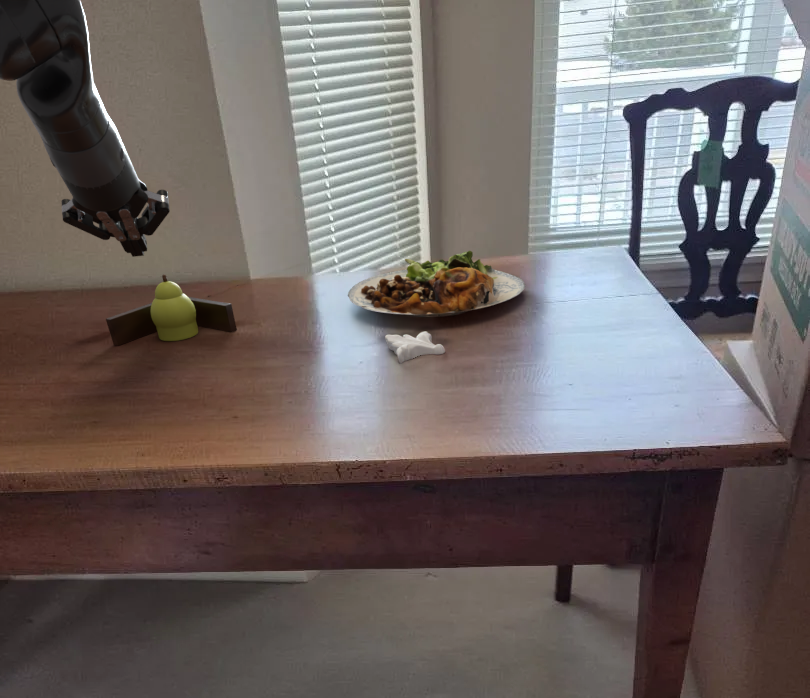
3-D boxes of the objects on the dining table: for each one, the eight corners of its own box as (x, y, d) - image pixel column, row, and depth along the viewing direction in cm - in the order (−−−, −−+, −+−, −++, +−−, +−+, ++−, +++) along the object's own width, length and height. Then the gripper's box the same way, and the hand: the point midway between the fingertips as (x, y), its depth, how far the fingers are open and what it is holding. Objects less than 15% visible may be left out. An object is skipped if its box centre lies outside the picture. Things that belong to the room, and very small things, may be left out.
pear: (178, 343, 109) (162, 282, 104) (147, 339, 112) (131, 278, 107) (209, 330, 113) (195, 270, 108) (179, 326, 116) (164, 267, 111)
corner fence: (168, 357, 104) (161, 329, 101) (113, 344, 111) (105, 318, 108) (237, 329, 112) (231, 303, 110) (181, 319, 119) (175, 294, 117)
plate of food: (453, 269, 132) (452, 234, 129) (562, 298, 113) (564, 257, 109) (318, 304, 120) (313, 266, 117) (414, 343, 101) (411, 299, 97)
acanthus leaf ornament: (399, 364, 95) (397, 350, 94) (379, 349, 100) (377, 336, 99) (450, 351, 97) (449, 338, 96) (428, 338, 102) (427, 324, 101)
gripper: (149, 119, 79) (186, 219, 96) (23, 129, 78) (84, 229, 95) (155, 179, 78) (192, 270, 95) (27, 191, 77) (88, 281, 94)
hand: (137, 250), depth 95 cm, fingers closed
